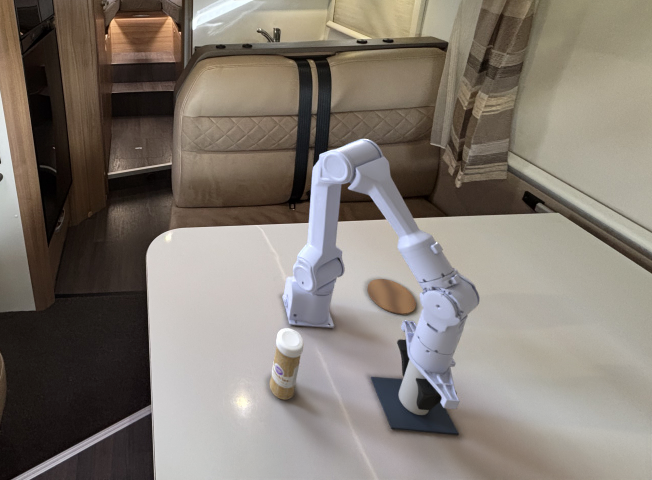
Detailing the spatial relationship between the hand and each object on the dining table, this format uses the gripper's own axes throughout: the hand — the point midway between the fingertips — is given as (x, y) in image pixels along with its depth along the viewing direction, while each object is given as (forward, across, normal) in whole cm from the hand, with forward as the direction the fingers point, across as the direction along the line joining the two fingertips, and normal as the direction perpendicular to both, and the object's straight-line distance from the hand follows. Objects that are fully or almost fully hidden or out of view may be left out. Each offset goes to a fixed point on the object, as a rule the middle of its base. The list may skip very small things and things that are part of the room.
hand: (416, 392), depth 76 cm
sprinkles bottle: (+4, +1, +23) cm, 23 cm away
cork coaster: (+3, +25, -7) cm, 26 cm away
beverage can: (+3, 0, 0) cm, 3 cm away
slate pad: (+3, 0, 0) cm, 3 cm away
